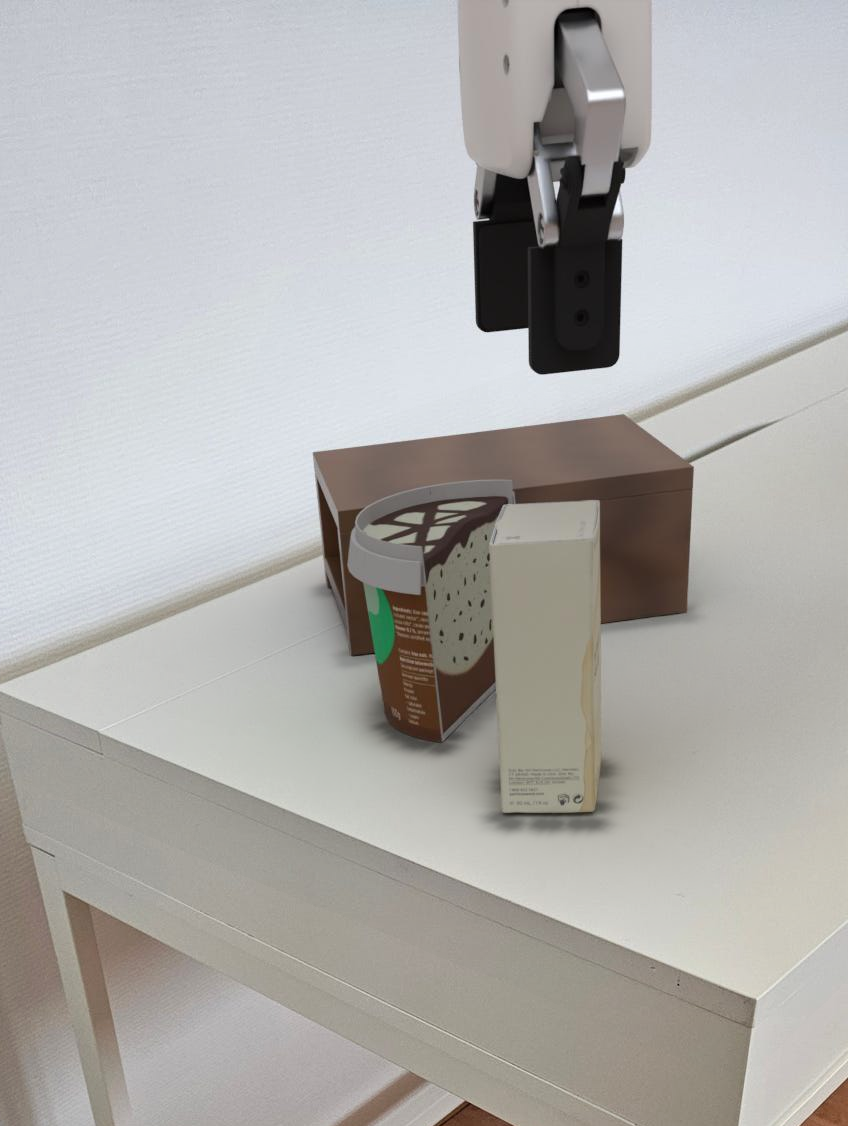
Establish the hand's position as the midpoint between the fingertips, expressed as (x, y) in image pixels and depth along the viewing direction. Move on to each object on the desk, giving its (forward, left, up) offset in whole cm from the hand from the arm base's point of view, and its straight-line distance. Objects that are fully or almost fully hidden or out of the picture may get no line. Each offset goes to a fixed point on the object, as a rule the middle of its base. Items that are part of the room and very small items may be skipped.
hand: (542, 347), depth 55 cm
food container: (+4, -12, -19) cm, 23 cm away
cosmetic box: (0, 0, -19) cm, 19 cm away
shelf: (-3, -27, -19) cm, 33 cm away
